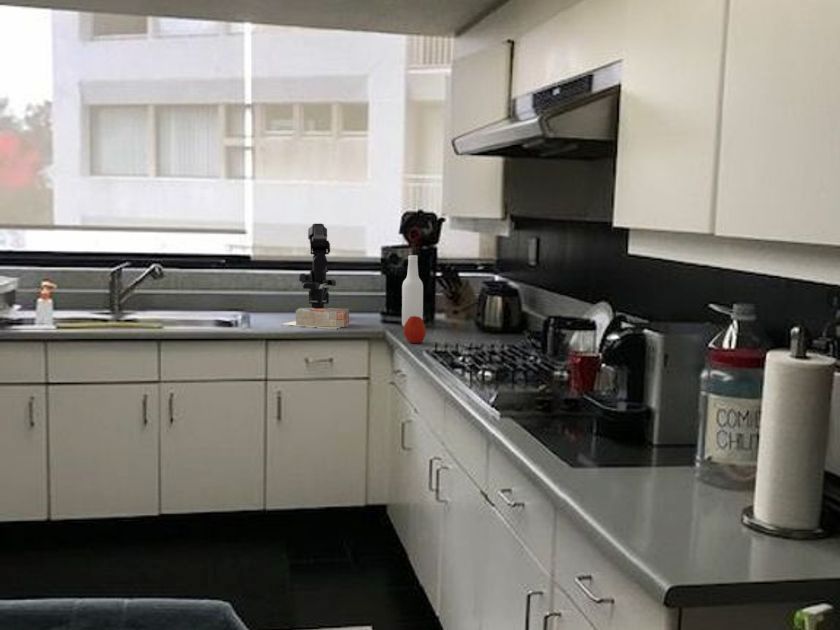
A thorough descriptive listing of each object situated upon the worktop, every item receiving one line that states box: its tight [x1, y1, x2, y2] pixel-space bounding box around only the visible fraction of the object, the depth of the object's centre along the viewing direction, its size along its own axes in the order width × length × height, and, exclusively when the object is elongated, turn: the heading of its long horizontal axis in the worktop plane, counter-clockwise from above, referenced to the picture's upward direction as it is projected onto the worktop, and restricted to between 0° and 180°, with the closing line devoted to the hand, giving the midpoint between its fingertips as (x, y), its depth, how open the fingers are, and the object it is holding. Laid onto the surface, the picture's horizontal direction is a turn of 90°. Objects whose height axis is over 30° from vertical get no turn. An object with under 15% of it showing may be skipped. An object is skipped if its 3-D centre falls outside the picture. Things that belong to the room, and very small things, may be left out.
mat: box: [282, 320, 349, 330], centre depth 385 cm, size 12×26×1 cm, turn 67°
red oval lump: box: [402, 316, 426, 344], centre depth 342 cm, size 8×8×11 cm
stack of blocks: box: [295, 307, 350, 328], centre depth 385 cm, size 21×6×12 cm
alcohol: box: [401, 254, 424, 328], centre depth 383 cm, size 9×9×30 cm
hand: (319, 304), depth 388 cm, fingers closed
